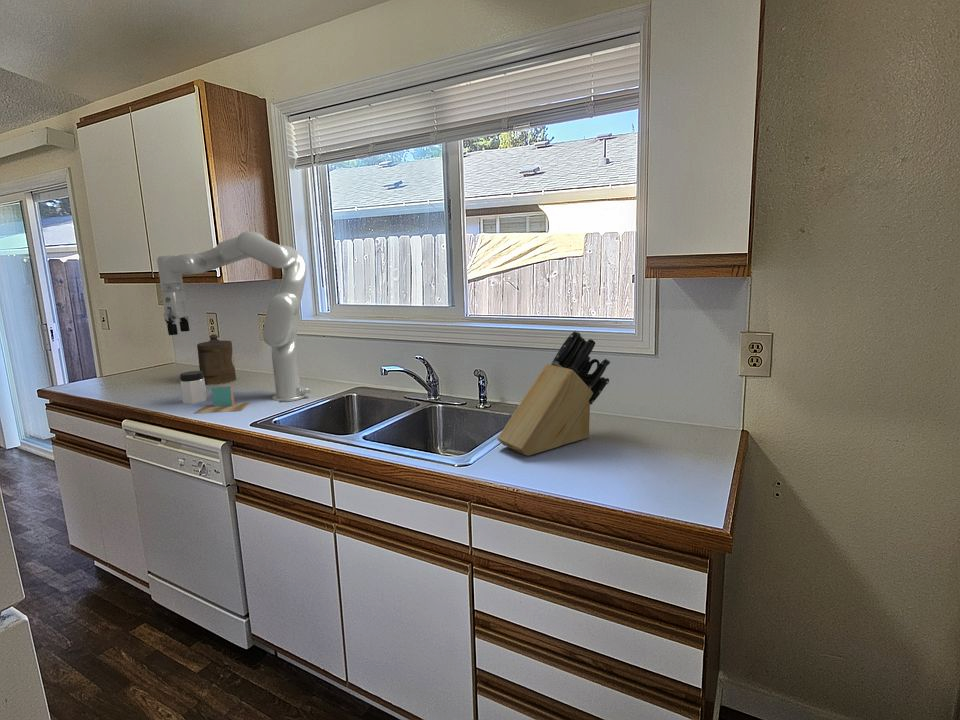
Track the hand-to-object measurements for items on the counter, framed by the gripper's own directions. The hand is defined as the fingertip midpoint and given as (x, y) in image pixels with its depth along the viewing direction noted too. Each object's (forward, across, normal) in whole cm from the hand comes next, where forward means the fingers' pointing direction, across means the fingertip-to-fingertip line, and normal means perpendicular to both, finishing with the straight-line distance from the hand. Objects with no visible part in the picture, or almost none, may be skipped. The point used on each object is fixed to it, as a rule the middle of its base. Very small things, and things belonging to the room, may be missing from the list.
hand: (179, 333), depth 213 cm
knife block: (+30, -67, -133) cm, 152 cm away
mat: (+28, -12, -18) cm, 35 cm away
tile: (+28, -9, -16) cm, 33 cm away
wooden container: (+28, +40, +5) cm, 50 cm away
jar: (+28, +1, -2) cm, 28 cm away
